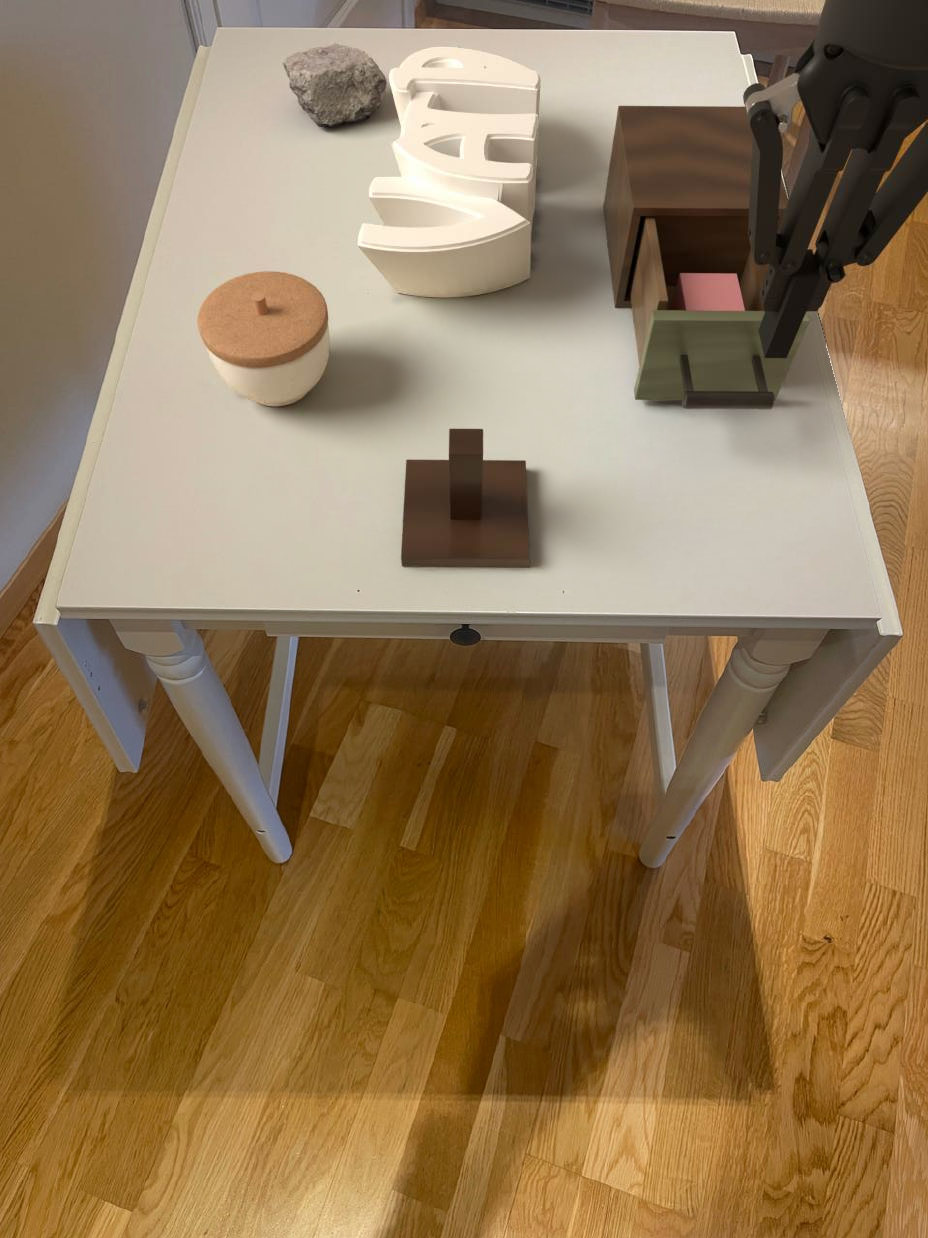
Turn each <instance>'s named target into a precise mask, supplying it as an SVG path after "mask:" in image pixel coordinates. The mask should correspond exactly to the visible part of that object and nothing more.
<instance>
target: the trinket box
mask: <svg viewBox="0 0 928 1238" xmlns="http://www.w3.org/2000/svg"><path fill="white" fill-rule="evenodd" d="M197 329H198V333H199V335H200V338H201V340H202V342H203V344H204V346H205V349H206V351H207V354H208V357H209V359H210V361H211V364H212V365H213V367H214V369H215V370H216V372H217V374H218V375H219V377H220V378H221V380H222V381H223V382H224V383H225V384H226V385H227V386H228V387H229V388H230V389H231V390H232V391H233V392H235V393H236V394H238V395H240V396H241V397H242V398H244V399H247V400H249V401H252V402H256V403H257V404H259V405H262V406H267V407H284V406H289V405H291V404H294V403H296V402H299V401H300V400H301V399H303V398H304V397H305V396H306V395H307V394H308V393H309V392H310V391H312V389H313V388H315V386H316V385H317V384H318V383H319V382H320V380H321V378H322V376H323V375H324V373H325V369H326V368H327V364H328V362H329V356H330V348H331V340H330V339H331V337H330V326H329V312H328V304H327V301H326V299H325V297H324V296H323V293H322V292H321V291H320V290H319V288H318V287H317V286H316V285H314V284H313V283H311V282H310V281H308V280H306V279H305V278H303V277H301V276H298V275H296V274H292V273H288V272H282V271H270V270H267V271H266V270H265V271H255V272H249V273H245V274H241V275H239V276H236V277H233V278H231V279H229V280H227V281H225V282H224V283H222V284H220V285H218V286H217V287H216V288H215V289H213V290H212V291H211V292H210V293H209V294H208V295H207V296H206V298H205V299H204V301H203V302H202V303H201V306H200V307H199V310H198V314H197Z"/></svg>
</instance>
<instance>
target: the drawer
mask: <svg viewBox="0 0 928 1238" xmlns="http://www.w3.org/2000/svg"><path fill="white" fill-rule="evenodd" d="M748 223H749V217H735V216H643V219H642V224H641V229H640V234H639V239H638V244H637V249H636V255H635V260H634V265H633V270H632V275H631V281H630V285H629V290H630V298H631V306H632V308H631V312H632V320H633V328H634V334H635V343H636V350H637V359H638V371H637V375H636V379H635V384H634V387H633V394H634V399H635V400H636V401H637V400H638V401H645V400H646V401H681V403H682V405H681V406H682V408H683V409H684V410H772V409H773V408H774V405H775V401H776V400H777V398H778V397H779V394H780V391H781V389H782V386H783V385H784V382H785V379H786V378H787V376H788V372H789V370H790V368H791V366H792V364H793V361H794V358H795V356H796V354H797V351H798V349H799V347H800V345H801V342H802V340H803V337H804V335H805V333H806V331H807V328H808V325H809V324H810V318H809V314H808V311H806V314H805V316H804V318H803V321H802V323H801V325H800V328H799V330H798V332H797V335H796V337H795V339H794V342H793V344H792V347H791V349H790V351H789V354H788V356H787V358H764V353H763V349H762V344H761V340H760V336H759V331H758V330H759V327H760V324H761V322H762V319H763V316H764V314H765V311H764V309H763V305H762V301H761V297H760V288H761V285H762V284H763V280H764V278H765V274H766V271H767V269H768V266H769V264H767V265H764V266H760V265H757V264H756V263H755V261H754V257H753V253H752V249H751V245H750V241H749V236H748ZM680 273H728V274H737V277H738V281H739V286H740V290H741V295H742V299H743V303H744V308H745V311H699V310H671V306H672V302H673V298H674V294H675V290H676V286H677V282H678V278H679V274H680Z"/></svg>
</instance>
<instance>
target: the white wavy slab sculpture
mask: <svg viewBox="0 0 928 1238" xmlns="http://www.w3.org/2000/svg"><path fill="white" fill-rule="evenodd" d="M388 74H389V75H388V81H389V85H390V89H391V93H392V98H393V101H394V105H395V109H396V112H397V117H398V120H399V125H400V134H399V138H396V139H395V140H394V141H392V142H391V143H390V145H391V148H392V151H393V154H394V158H395V160H396V164H397V166H398V169H399V173H400V176H376V177H374V178H373V179H372V181H371V183H370V185H369V187H368V198H369V200H370V202H371V203H372V205H373V207H374V209H375V211H376V213H377V214H378V216H379V218H380V219H381V221H382V223H383V225H380V224H373V223H367V222H363V223H361V226H360V229H359V232H358V236H357V247H358V248H359V249H360V251H361V252H362V253H363V254H364V255H365V256H366V257H367V259H368V260H369V261H370V262H371V264H372V265H373V266H374V267H375V268H376V270H378V272H379V273H380V274H381V276H382V277H383V278H384V279H385V280H386V281H387V283H388V284H389V285H390V286H391V287H392V288H393V289H394V291H395V293H398V294H403V295H409V296H416V297H423V298H424V297H426V298H463V297H472V296H473V297H474V296H478V295H484V294H485V295H486V294H490V293H494V292H498V291H501V290H504V289H507V288H511V287H513V286H515V285H518V284H520V283H522V282H525V281H526V280H528V279H530V278H531V256H532V231H533V224H534V223H533V221H534V216H535V211H536V189H537V164H538V145H539V144H538V142H539V121H540V101H541V85H542V84H541V77H540V75H539V73H538V71H536V69H534V70H533V69H530V68H528V67H526V66H525V65H522V64H520V63H518V62H516V61H514V60H511V59H509V58H506V57H504V56H500V55H497V54H493V53H491V52H486V51H483V50H482V51H481V50H477V49H470V48H463V47H456V46H433V47H427V48H424V49H420V50H417V51H416V52H413V53H411V54H410V55H408V56H407V57H406V58H405V59H404V60H403V61H402V62H401V63H400V65H399V67H392V69H390V71H389V73H388Z"/></svg>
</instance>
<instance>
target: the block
mask: <svg viewBox="0 0 928 1238" xmlns="http://www.w3.org/2000/svg"><path fill="white" fill-rule="evenodd" d="M671 310H699V311H745V308H744V303H743V299H742V295H741V290H740V286H739V281H738V277H737V274H728V273H680V274H679V278H678V282H677V286H676V290H675V294H674V298H673V302H672V306H671Z"/></svg>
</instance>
